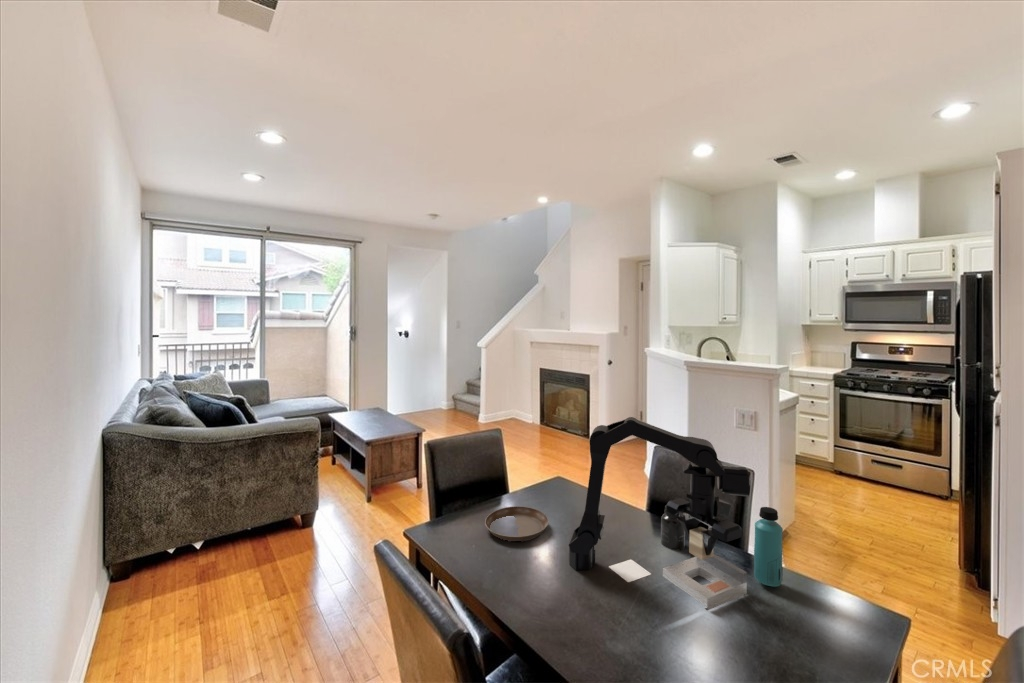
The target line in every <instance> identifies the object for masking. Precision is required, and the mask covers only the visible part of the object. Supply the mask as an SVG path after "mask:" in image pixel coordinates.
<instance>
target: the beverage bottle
mask: <svg viewBox="0 0 1024 683" xmlns="http://www.w3.org/2000/svg"><path fill="white" fill-rule="evenodd" d="M758 513H759V514H758V516H759V517H760V519H759V520H756V521H755V523H754V545H753V551H754V552H753V563H752V564H753V576H754V579H755V580H756V581H757V582H758V583H760V584H761V585H764V586H767V587H779V586H781V585H782V583H783V570H784V569H783V563H784V562H783V561H784V556H783V532H784V529H783V527H782V526H781V525H780V524H779V523H778V522H777V521H778V520H779V513H778V510H777V509H775V508H773V507H769V506H761V507H760V509H759V512H758Z"/></svg>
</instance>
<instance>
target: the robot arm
mask: <svg viewBox="0 0 1024 683" xmlns="http://www.w3.org/2000/svg"><path fill="white" fill-rule="evenodd" d="M630 436H632V437H635V438H638V439H640V440H644V441H646V442H648V443H651V444H653V445H656V446H659V447H662V448H664V449H667V450H671V451H672V452H675V453H676V454H679V455H680V456H681V457H683V458H684V459H685V460H687V461H688V463H687V464H685V465H684V466H682V471H683V474H684V475H685V474H687V475H690V488H689V492H687V493H686V498H688V499H689V501H688V500H687V499H684V498H683V497H679V498H675V499H671V500H668V502H667V503H666V505H667V512H669V513H671V514H673V515H676V514H677V513H678V512H679V517H677V520H678V521H680V523H681V525H682V527H683V529H684V531H685V536H686V537H687V538H688V540H689V536H690V530H691V529H694V528H697V527H699V523H703V524H704V525H706V526H708V527H707V530H706V531H703V532H702V534H703V540H704V547H705V552H706V555H707V556H708V555H710V554H711V552H712V550H713V551H714V547H715V545H716V543H717V541H718V540H720V541H722V542H724V543H728V542H732V541H735V540H737V539H741V538H742V536H743V529H742V527H741V526H740V524H737V523H735V522H733V521H731V520H730V519H727V518H726V519H723V520H717V519H715V518H719V517H721V515H723V516H726V517H729V515H730V512H731V508H732V504H731V503H730V502H727V501H725V500H722V499H720V496H719V495H717V494H716V486H717V489H718V490H721V492H722V494H723V495H731V496H741V497H750V493H751V485H750V480H749V478H750V477H749V471H748V468H747V467H745V466H738V467H737V466H725V465H723V462H722V461H721V460H719V458H718V454H717V451H716V450H715V447H714V445H713V444H712V443H711V441H709V440H708V439H703V438H699V437H694V436H683V435H679V434H676V433H675V432H674V433H673V432H672V431H669V430H666V429H664V428H661V427H657V426H655V425H652V424H649V423H647V422H645V421H641V420H639V419H637V417H636V418H635V417H633V416H629V417H627V418H625V419H622V420H619V421H616V422H612V423H610V424H608V425H604V424H603V425H602V424H600V425H597V426H596V427H595V428H594V429H593V430H592V433H591V434H590V436H589V455H590V470H589V476H588V485H587V492H586V500H585V505H584V506H585V507H584V511H583V515H582V518H581V521H580V524H579V525H578V527H576V528H574V530H573V532H572V534H571V535H572V536H571V538H570V540H569V544H568V547H569V553H568V554H569V556H568V558H569V559H568V560H569V564H568V565H569V567H570V568H572V569H573V571H575V572H578V571H580V572H586V571H589V570H591V569H592V568H593V566H595V565H596V549H595V546H596V545H598V542H599V540H602V538H603V537H602V536H603V533H604V521H605V517H606V515H604V514H601V511H600V506H601V500H602V493H603V492H602V491H603V485H604V477H605V469H606V462H607V458H608V456H609V454H610V451H611V447H612V446H614V445H615V444H617V443H619V442H621V441H623V440H625V439H627V438H629V437H630ZM716 477H717V478H716Z"/></svg>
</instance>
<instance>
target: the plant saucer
mask: <svg viewBox="0 0 1024 683" xmlns="http://www.w3.org/2000/svg"><path fill="white" fill-rule="evenodd" d="M506 516H514V517H515V518H517V520H516V522H515V524H516V525H518V527H520V528H519V529H518V531H517V532H518V536H506V535H501V534H498V533H495V532H493V531H492V530H490V525H491V523H492V522H493V521H495V520H496V519H499V518H502V517H506ZM484 524H485V526H486V527H485V528H486V529H487V530H488V532H489V533H490V534H492V535H493V536H495V538H497V537H498V538H497V539H499V538H500V539H499V540H502V539H503V541H505V540H508V541H507V542H511V541H521V542H528V541H530V540H531V541H532V540H533V539H535V538H537V537H538V536H540V535H541V534H543V532H544V531H545V530H546V528H547V526H548V524H549V518H548V516H547V515H546V514H545V513H544V512H543V511H541V510H539V509H536V508H532V507H530V506H529V507H528V506H518V505H517V506H508V507H502V508H500V509H496V510H494V511H492V512H490V513H489V514H488V515H487V517H485V521H484Z"/></svg>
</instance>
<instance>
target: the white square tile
mask: <svg viewBox="0 0 1024 683" xmlns="http://www.w3.org/2000/svg"><path fill="white" fill-rule="evenodd" d="M608 568H609V569H611V571H613V572H615V574H617V575H618V576H619V577H621V578H622V579H623V580H625V582H627V583H631V582H633V581H636V580H639V579H642V578H645V577H648V576H651V575H652V573H651V572H649V571H648V570H646V569H645V568H644V567H643V566H641V565H640V564H638V563H637V562H636V561H634V560H633V559H627V560H624V561H621V562H619V563H618V562H617V563H615V564H612V565H609V566H608Z"/></svg>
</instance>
